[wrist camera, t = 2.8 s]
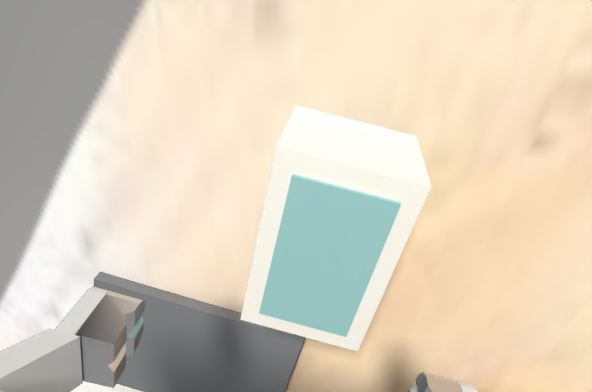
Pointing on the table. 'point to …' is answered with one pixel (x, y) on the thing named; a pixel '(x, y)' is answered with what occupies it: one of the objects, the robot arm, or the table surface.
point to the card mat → (201, 346)
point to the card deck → (333, 226)
